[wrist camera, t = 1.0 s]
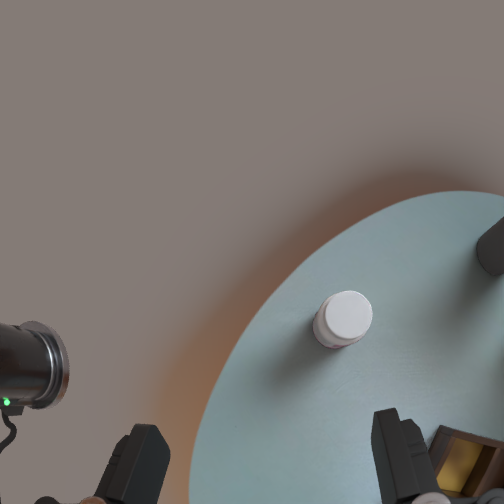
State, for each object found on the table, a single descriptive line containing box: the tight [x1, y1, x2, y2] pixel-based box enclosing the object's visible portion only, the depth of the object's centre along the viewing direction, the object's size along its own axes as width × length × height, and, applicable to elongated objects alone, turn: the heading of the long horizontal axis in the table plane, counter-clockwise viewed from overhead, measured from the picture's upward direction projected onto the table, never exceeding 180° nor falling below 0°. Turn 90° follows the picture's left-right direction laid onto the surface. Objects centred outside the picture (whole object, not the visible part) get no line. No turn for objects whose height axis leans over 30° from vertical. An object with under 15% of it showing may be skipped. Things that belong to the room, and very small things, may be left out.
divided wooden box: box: [428, 425, 504, 498], centre depth 23 cm, size 8×15×4 cm, turn 64°
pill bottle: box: [313, 291, 372, 348], centre depth 29 cm, size 5×5×8 cm
